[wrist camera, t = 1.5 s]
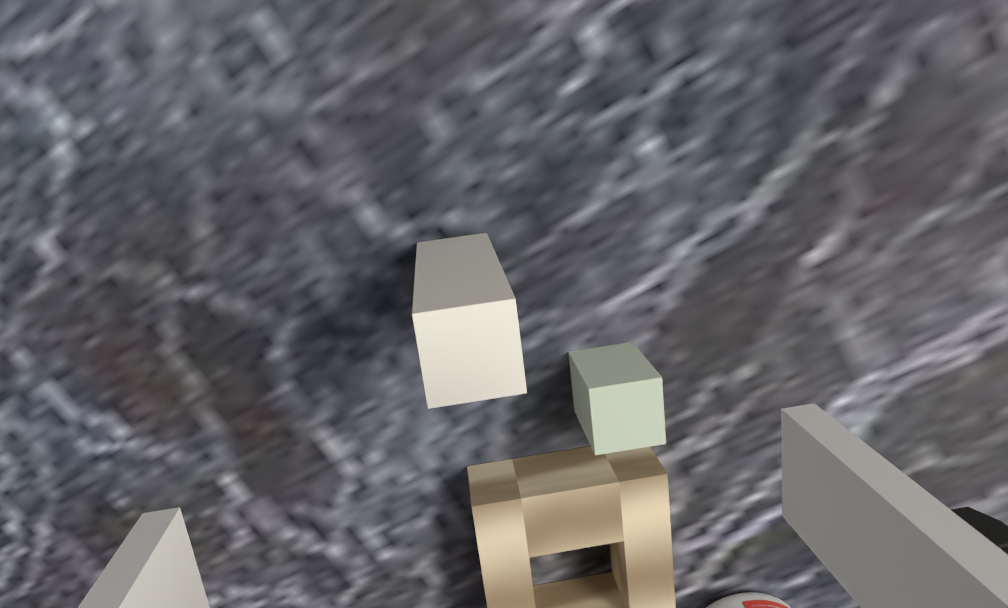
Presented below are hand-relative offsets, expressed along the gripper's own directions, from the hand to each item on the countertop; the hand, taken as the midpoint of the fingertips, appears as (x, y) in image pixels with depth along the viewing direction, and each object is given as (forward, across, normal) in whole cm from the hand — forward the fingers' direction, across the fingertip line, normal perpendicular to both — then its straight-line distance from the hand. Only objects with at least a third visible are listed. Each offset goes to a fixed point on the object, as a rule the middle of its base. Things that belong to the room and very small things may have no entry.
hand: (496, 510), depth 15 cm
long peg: (+21, 0, 0) cm, 21 cm away
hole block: (+21, +4, -17) cm, 27 cm away
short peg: (+21, +7, -7) cm, 23 cm away
